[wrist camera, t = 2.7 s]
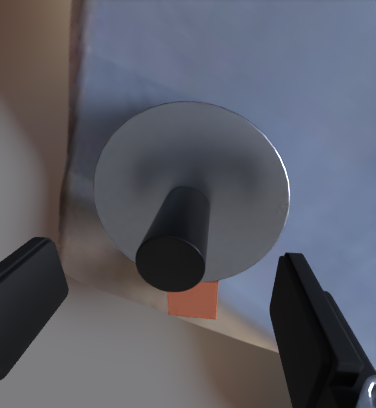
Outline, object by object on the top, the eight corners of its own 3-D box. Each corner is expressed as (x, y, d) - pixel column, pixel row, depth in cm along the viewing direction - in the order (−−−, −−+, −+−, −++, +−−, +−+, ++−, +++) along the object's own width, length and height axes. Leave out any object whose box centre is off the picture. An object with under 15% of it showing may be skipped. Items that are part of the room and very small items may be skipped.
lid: (178, 47, 12) (136, -5, 6) (327, 200, 14) (405, 275, 8) (71, 201, 17) (-13, 259, 11) (195, 295, 19) (183, 386, 13)
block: (175, 248, 26) (166, 279, 22) (218, 251, 26) (218, 283, 21) (176, 280, 29) (168, 315, 24) (216, 284, 28) (216, 320, 24)
